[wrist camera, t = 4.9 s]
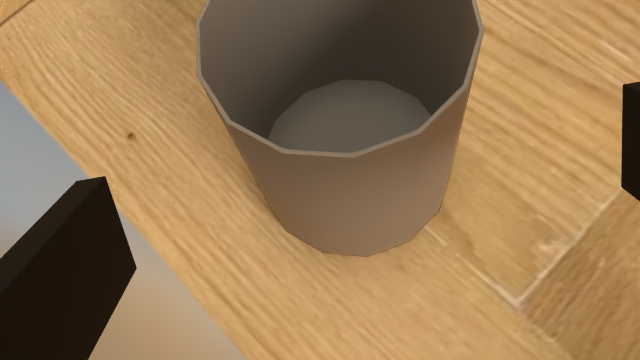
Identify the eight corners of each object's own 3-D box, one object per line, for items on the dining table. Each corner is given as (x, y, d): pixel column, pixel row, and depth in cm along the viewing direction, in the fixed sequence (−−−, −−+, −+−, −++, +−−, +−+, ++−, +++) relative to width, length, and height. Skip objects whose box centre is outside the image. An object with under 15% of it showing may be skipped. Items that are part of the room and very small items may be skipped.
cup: (355, 297, 24) (332, 220, 15) (225, 172, 27) (138, 42, 18) (489, 158, 26) (544, 10, 16) (353, 54, 28) (335, -122, 19)
